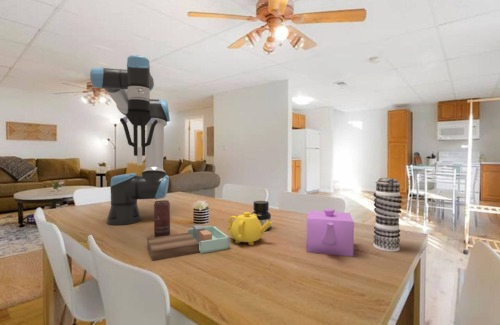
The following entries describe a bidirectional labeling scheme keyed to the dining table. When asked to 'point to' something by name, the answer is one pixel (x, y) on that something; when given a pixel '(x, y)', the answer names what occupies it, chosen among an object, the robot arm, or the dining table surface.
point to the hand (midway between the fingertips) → (139, 164)
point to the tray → (213, 240)
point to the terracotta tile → (205, 235)
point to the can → (161, 218)
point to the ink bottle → (262, 212)
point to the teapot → (247, 228)
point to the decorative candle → (387, 214)
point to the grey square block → (197, 232)
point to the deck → (172, 246)
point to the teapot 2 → (330, 232)
